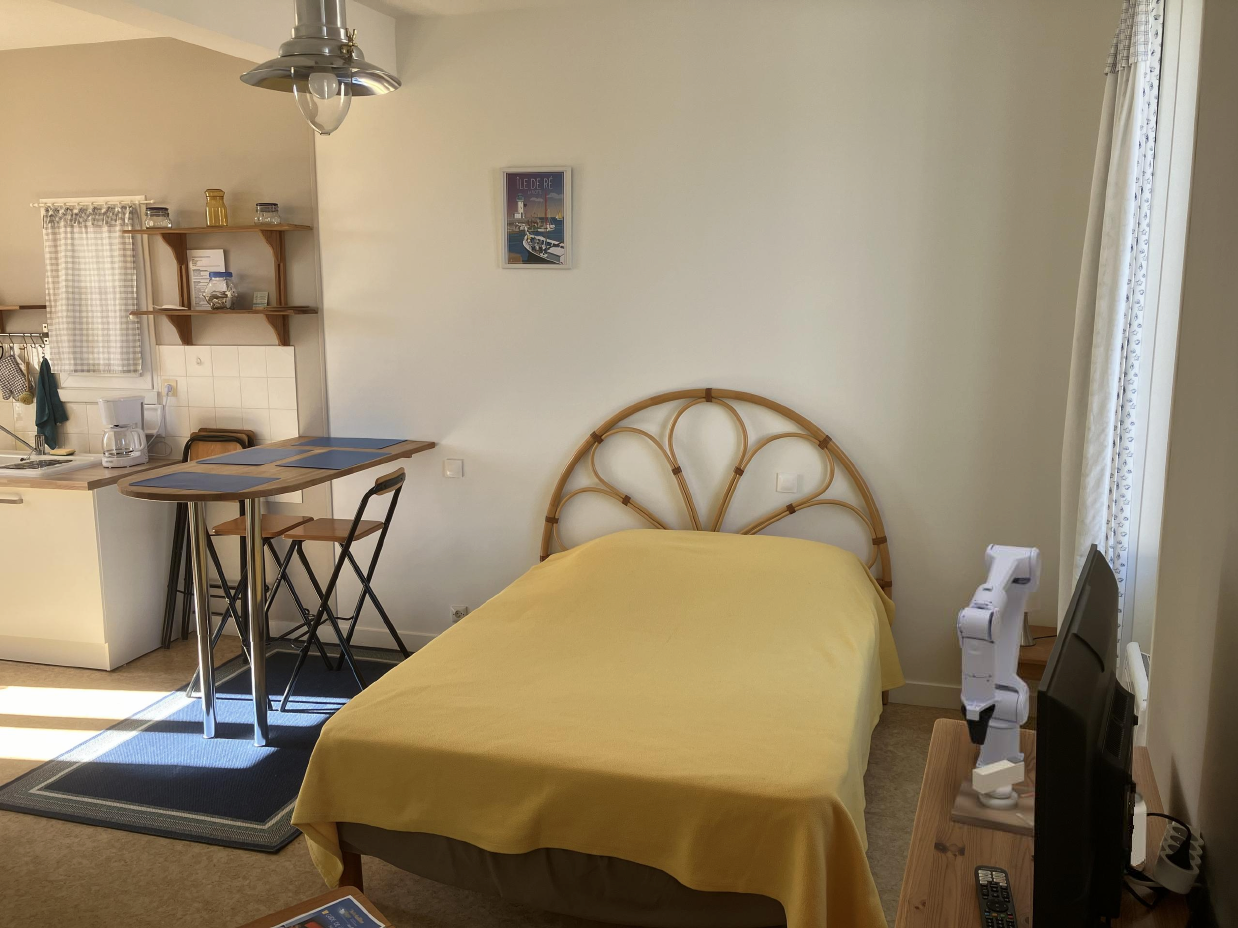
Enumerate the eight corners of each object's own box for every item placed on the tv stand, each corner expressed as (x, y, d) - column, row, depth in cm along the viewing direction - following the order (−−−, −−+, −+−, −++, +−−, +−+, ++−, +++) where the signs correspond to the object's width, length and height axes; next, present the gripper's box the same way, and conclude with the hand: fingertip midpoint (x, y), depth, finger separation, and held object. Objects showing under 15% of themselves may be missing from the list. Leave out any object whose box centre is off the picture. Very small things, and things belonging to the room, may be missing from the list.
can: (1150, 876, 150) (1152, 805, 148) (1106, 874, 151) (1107, 802, 149) (1137, 854, 156) (1139, 785, 154) (1094, 852, 157) (1096, 783, 156)
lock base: (964, 784, 182) (964, 769, 182) (1043, 797, 176) (1044, 782, 175) (951, 820, 169) (951, 804, 169) (1036, 837, 163) (1036, 820, 162)
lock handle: (987, 803, 168) (987, 775, 167) (968, 793, 172) (968, 765, 171) (1028, 790, 172) (1028, 762, 172) (1009, 780, 176) (1009, 753, 176)
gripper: (996, 688, 167) (996, 762, 168) (1006, 662, 179) (1005, 731, 181) (954, 683, 170) (954, 755, 172) (967, 658, 183) (966, 725, 184)
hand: (978, 742), depth 176 cm, fingers closed
